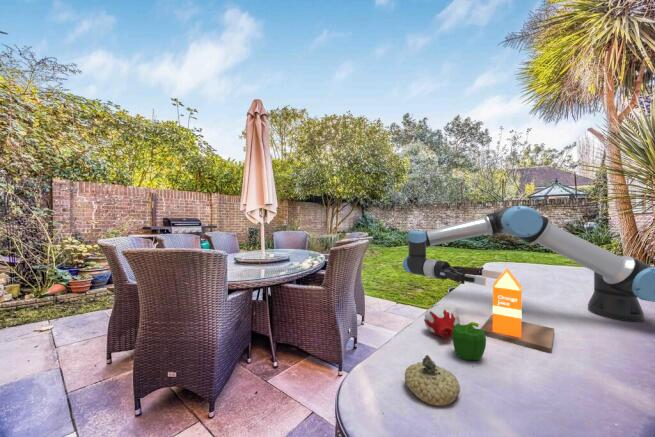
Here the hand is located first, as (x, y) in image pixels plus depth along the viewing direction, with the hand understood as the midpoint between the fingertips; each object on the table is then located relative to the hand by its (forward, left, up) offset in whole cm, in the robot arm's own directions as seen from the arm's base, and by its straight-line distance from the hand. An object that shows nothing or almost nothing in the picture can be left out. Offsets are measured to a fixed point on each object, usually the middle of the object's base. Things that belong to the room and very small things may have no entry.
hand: (493, 278), depth 93 cm
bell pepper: (+1, +28, -17) cm, 33 cm away
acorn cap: (+3, +49, -18) cm, 52 cm away
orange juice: (-4, +4, -16) cm, 17 cm away
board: (-7, +1, -17) cm, 19 cm away
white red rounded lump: (+11, +19, -17) cm, 28 cm away
